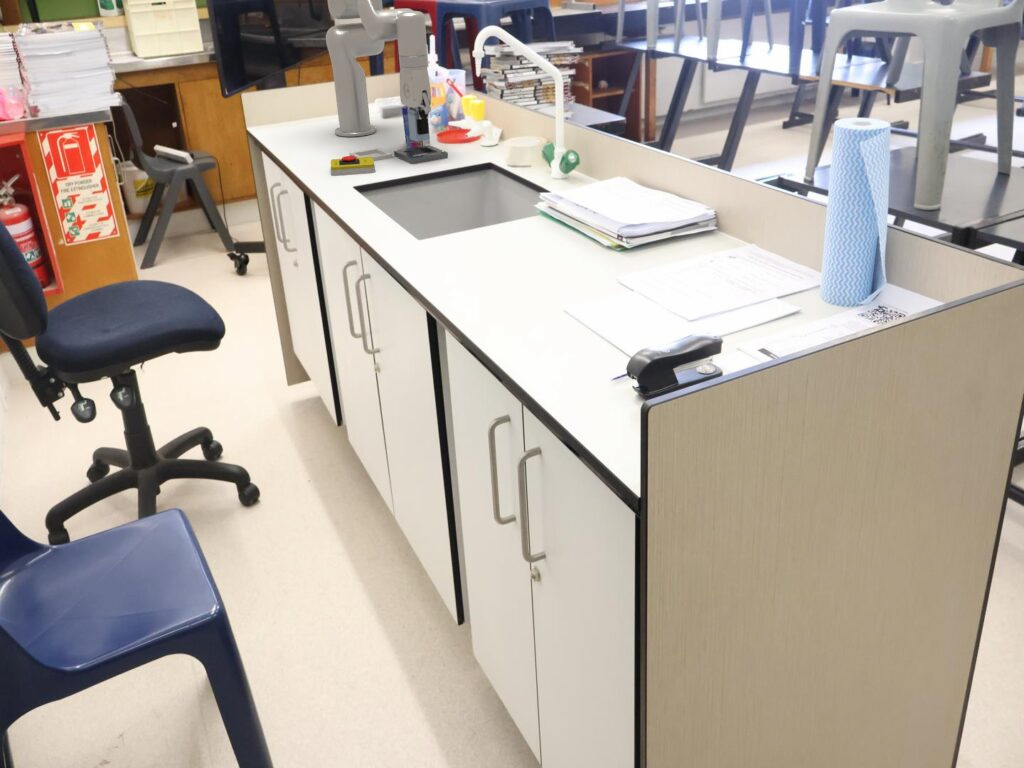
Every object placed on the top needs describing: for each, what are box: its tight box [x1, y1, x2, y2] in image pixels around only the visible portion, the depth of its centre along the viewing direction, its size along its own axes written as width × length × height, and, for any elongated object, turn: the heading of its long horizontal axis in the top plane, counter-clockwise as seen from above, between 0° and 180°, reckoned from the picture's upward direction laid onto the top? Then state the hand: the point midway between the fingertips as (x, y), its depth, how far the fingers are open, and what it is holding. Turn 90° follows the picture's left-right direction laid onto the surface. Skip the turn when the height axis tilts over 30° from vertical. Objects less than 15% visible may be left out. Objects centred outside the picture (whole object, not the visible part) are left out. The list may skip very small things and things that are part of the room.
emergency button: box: [330, 155, 376, 177], centre depth 240 cm, size 9×4×15 cm
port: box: [393, 144, 449, 165], centre depth 250 cm, size 11×11×2 cm
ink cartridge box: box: [401, 105, 431, 149], centre depth 261 cm, size 10×6×14 cm, turn 174°
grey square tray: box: [348, 147, 394, 162], centre depth 252 cm, size 9×9×2 cm
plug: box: [408, 108, 430, 141], centre depth 246 cm, size 4×4×8 cm
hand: (419, 131), depth 247 cm, fingers closed on plug, 4 cm apart
